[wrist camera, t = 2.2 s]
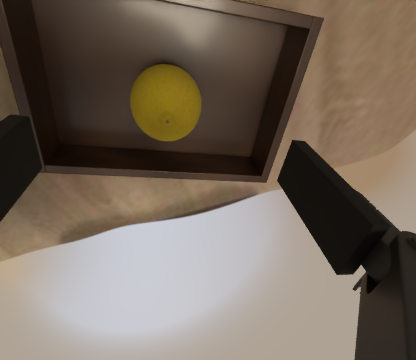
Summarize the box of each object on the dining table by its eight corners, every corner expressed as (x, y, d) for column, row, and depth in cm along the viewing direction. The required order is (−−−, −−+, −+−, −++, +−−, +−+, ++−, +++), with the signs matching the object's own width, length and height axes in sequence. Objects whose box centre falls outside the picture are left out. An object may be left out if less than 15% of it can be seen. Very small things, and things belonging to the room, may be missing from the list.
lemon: (180, 126, 25) (186, 168, 18) (126, 102, 23) (112, 140, 16) (206, 74, 22) (223, 102, 16) (148, 43, 20) (140, 59, 14)
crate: (54, 149, 25) (36, 172, 21) (12, -42, 17) (-29, -54, 13) (254, 161, 29) (266, 182, 26) (298, 16, 21) (324, 18, 18)
